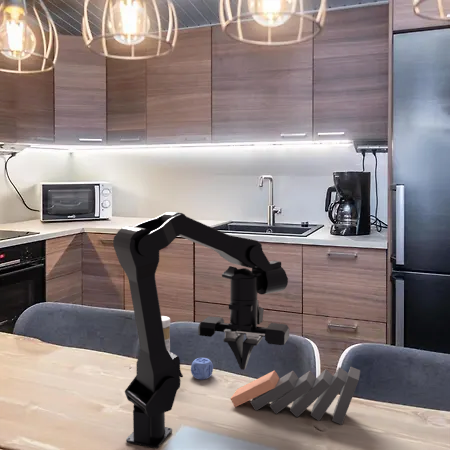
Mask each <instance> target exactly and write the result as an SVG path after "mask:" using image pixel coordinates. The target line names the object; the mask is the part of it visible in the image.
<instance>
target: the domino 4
mask: <svg viewBox="0 0 450 450" xmlns="http://www.w3.org/2000/svg"><path fill="white" fill-rule="evenodd" d="M333 376H334V374H332V373H331V372H330V371H329V370H327V368H325V369H324V370H323V371H322V372H321V373H320V374H319V375H317V377H316V380H315V383H314V386H313V388H312V389H310V390H309V391H308V392H306V393H305V394H303V395H302V396H300V397H299V398H298V399H296V400H295V401H293V402H292V403H291V406H290V409H289V411H290V412H291V413H292V414H293V416H295V417H296V418H298V417H299V416H300V415H301V414H303V413H304V411H306V410H307V409H308V408H309V407H310V406H311V405H312V404H314V403H315V402H316V400H317V399H318V397H319V396H320V395H321V394H322V393H323V392H324V391H326V390H327V389H328V388H329V387H330V386H331V382H332V379H333Z"/></svg>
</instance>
